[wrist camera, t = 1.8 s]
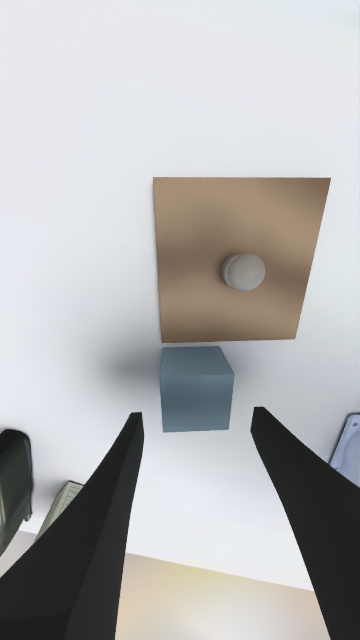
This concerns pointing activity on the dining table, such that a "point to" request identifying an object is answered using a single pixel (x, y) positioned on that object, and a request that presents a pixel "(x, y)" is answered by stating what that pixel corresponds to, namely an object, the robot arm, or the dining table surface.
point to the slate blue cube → (195, 389)
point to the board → (234, 230)
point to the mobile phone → (14, 484)
